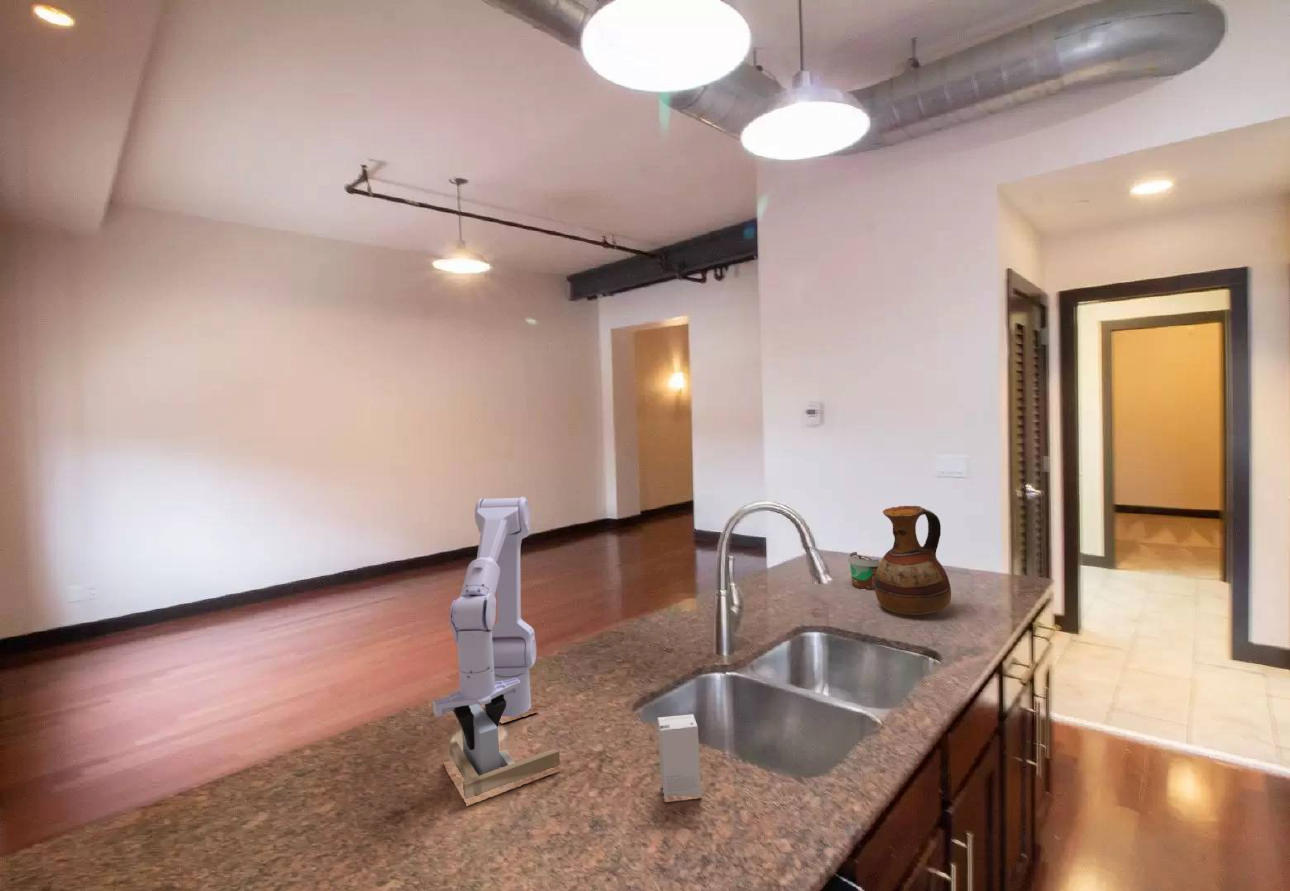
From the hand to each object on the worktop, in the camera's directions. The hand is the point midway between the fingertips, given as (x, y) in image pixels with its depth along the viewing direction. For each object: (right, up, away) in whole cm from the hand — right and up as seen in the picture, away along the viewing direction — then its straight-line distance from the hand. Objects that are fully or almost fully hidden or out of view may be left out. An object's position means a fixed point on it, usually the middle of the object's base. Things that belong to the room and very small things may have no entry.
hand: (481, 743), depth 106 cm
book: (0, -5, +1) cm, 5 cm away
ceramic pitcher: (+105, +4, +72) cm, 127 cm away
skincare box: (+34, -5, -8) cm, 35 cm away
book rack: (+3, -5, +1) cm, 6 cm away
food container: (+97, +5, +95) cm, 136 cm away
